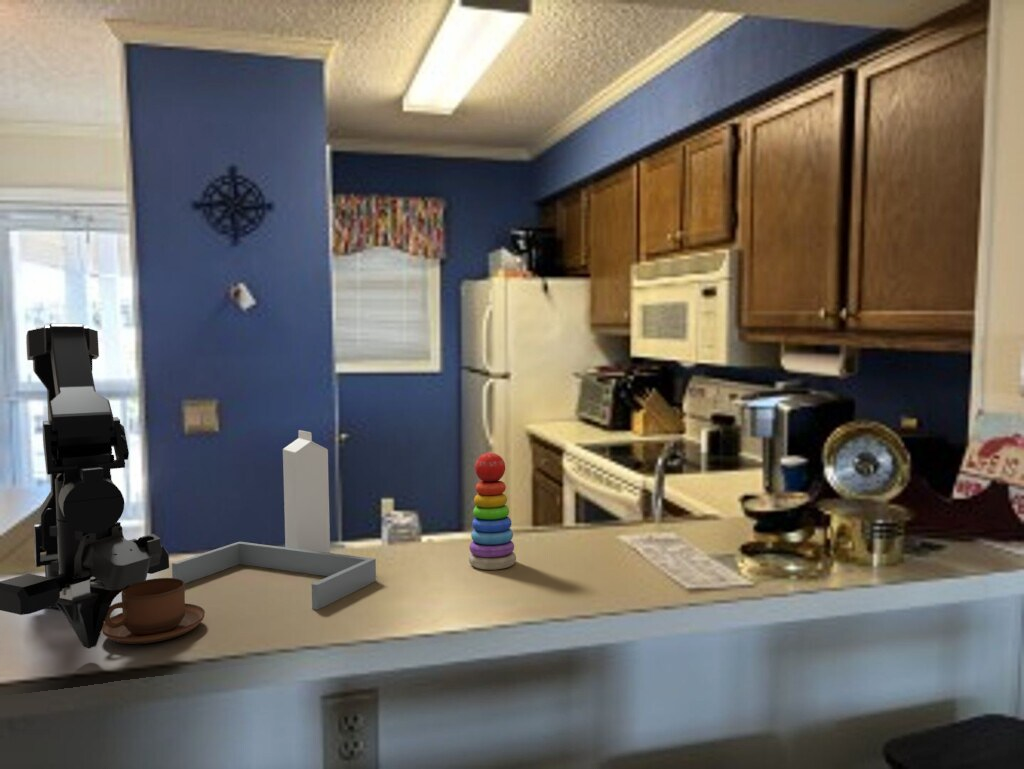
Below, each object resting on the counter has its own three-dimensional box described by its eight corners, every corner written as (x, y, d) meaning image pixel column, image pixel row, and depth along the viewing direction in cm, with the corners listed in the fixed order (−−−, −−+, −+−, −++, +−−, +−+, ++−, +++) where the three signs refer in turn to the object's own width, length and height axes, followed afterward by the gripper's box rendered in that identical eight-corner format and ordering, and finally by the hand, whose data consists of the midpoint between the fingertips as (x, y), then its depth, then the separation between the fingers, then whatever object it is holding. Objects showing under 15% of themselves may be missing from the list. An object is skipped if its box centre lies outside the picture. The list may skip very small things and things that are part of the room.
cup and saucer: (158, 657, 89) (156, 606, 89) (79, 646, 93) (77, 597, 92) (224, 621, 100) (223, 576, 100) (152, 613, 104) (150, 569, 104)
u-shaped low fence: (172, 585, 116) (172, 563, 116) (239, 561, 128) (239, 541, 128) (317, 609, 104) (317, 584, 104) (376, 580, 117) (375, 558, 117)
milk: (297, 561, 128) (293, 434, 127) (285, 554, 133) (281, 431, 132) (331, 555, 132) (327, 431, 131) (317, 548, 137) (314, 428, 136)
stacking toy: (525, 561, 126) (524, 451, 126) (499, 574, 120) (497, 457, 119) (486, 555, 131) (485, 448, 130) (459, 567, 124) (457, 454, 123)
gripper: (52, 542, 76) (58, 693, 76) (199, 505, 92) (203, 629, 93) (-16, 531, 80) (-10, 674, 81) (136, 499, 97) (140, 617, 98)
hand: (90, 647), depth 88 cm, fingers closed
